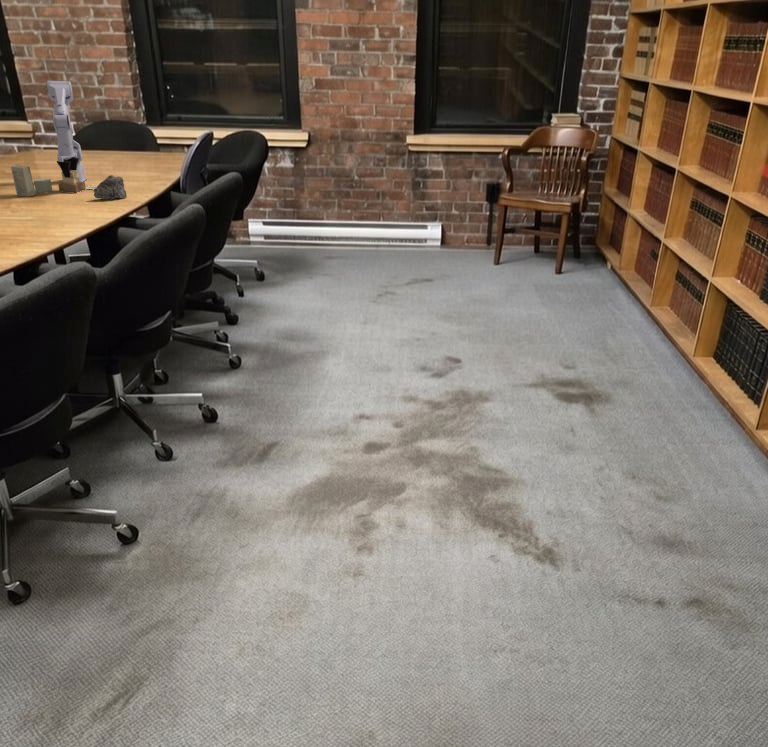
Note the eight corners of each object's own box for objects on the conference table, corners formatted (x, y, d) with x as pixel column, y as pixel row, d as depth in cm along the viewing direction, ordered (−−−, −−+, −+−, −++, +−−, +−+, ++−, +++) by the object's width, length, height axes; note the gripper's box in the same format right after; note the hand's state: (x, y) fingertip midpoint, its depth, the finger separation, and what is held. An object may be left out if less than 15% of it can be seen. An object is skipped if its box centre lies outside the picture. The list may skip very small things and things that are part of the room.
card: (91, 185, 309) (91, 184, 308) (106, 185, 309) (106, 184, 308) (82, 189, 300) (82, 188, 299) (97, 190, 300) (97, 188, 299)
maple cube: (68, 181, 297) (66, 169, 294) (79, 181, 297) (77, 170, 294) (63, 183, 292) (61, 171, 290) (74, 183, 292) (72, 172, 290)
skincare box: (36, 195, 285) (30, 166, 279) (28, 197, 281) (23, 167, 275) (23, 193, 286) (18, 164, 281) (16, 195, 282) (10, 166, 277)
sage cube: (41, 190, 295) (39, 178, 292) (52, 190, 295) (50, 179, 292) (35, 192, 290) (33, 180, 288) (47, 192, 290) (45, 181, 288)
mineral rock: (94, 201, 279) (90, 177, 275) (95, 196, 288) (92, 173, 284) (126, 201, 283) (123, 177, 279) (126, 195, 292) (124, 172, 288)
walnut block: (69, 189, 300) (67, 180, 298) (86, 190, 299) (84, 181, 298) (59, 192, 293) (58, 183, 291) (76, 194, 292) (75, 185, 290)
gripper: (63, 141, 294) (68, 172, 300) (48, 145, 281) (53, 178, 287) (79, 142, 294) (84, 173, 300) (64, 146, 281) (70, 179, 287)
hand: (70, 176), depth 293 cm, fingers open, 6 cm apart
